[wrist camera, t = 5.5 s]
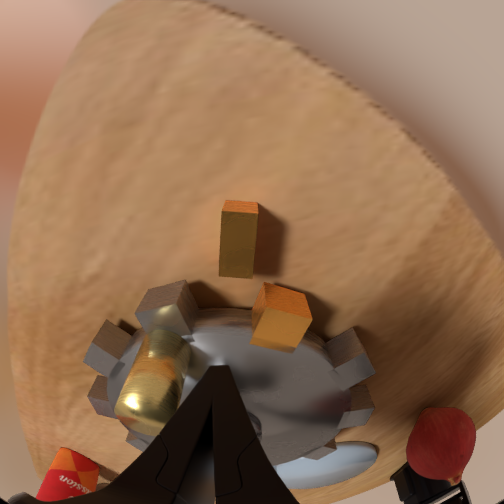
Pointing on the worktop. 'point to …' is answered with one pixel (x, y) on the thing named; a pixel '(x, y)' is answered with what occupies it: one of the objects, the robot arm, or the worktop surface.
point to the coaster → (328, 466)
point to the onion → (441, 444)
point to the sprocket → (233, 369)
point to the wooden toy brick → (238, 239)
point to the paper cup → (68, 476)
